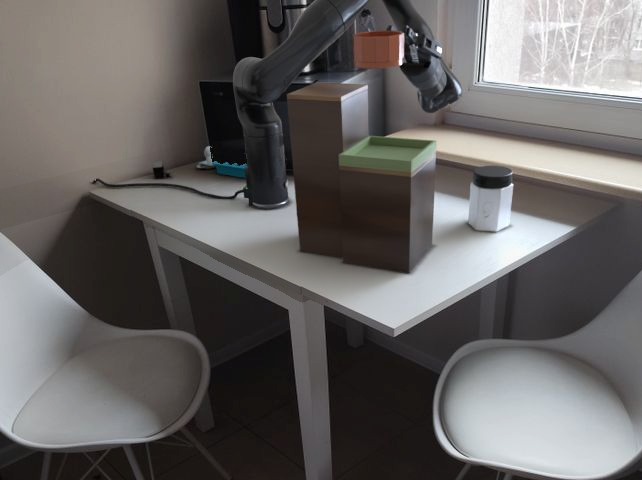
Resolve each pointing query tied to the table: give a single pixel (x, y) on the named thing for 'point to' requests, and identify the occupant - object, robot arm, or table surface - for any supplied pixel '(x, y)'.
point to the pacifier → (208, 161)
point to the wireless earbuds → (159, 170)
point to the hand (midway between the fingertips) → (397, 30)
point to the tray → (388, 153)
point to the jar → (490, 198)
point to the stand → (354, 185)
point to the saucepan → (378, 49)
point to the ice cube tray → (230, 169)
